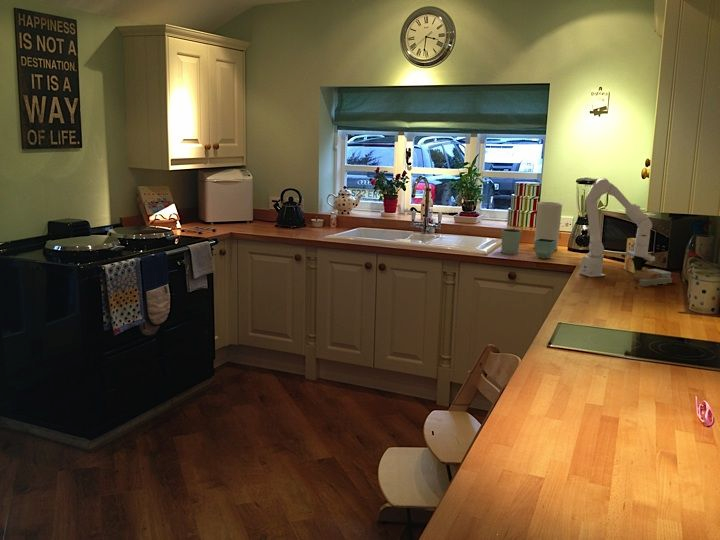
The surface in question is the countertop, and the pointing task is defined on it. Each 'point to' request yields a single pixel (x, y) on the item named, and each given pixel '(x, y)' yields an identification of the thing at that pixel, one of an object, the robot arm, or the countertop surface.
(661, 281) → the stop rail
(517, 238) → the green tapered cup
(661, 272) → the grey-blue block
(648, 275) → the walnut block
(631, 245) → the candy box
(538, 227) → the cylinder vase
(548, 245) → the flower pot
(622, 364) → the countertop surface
